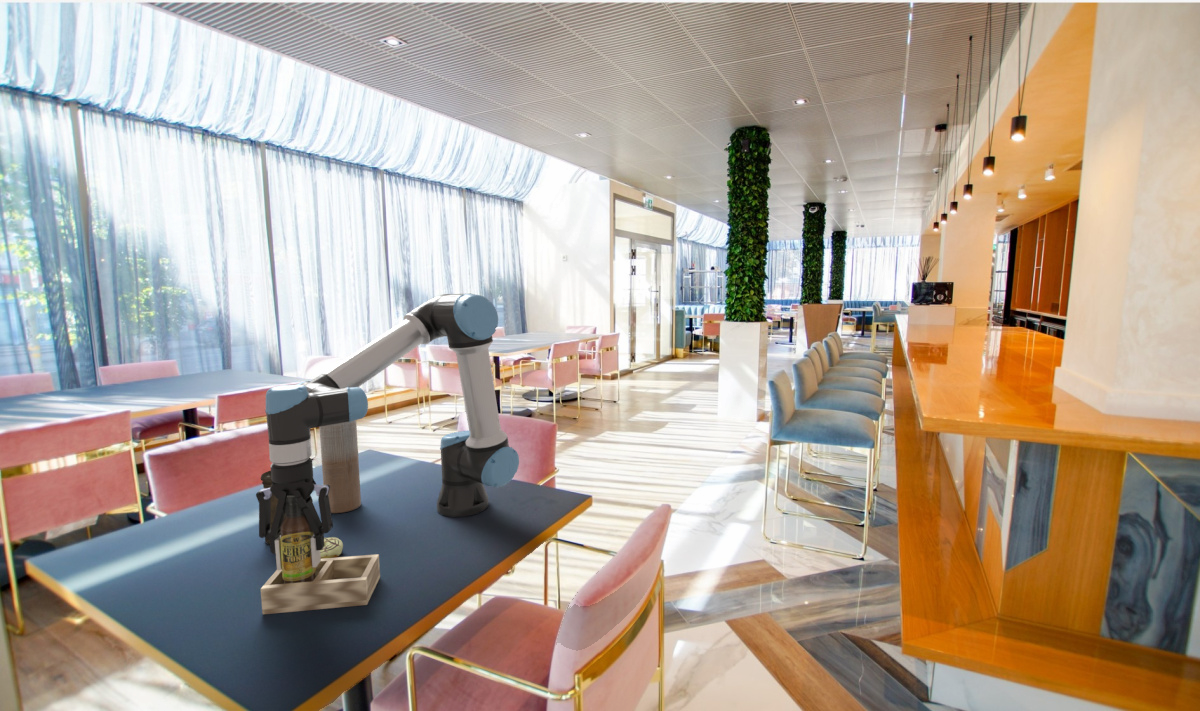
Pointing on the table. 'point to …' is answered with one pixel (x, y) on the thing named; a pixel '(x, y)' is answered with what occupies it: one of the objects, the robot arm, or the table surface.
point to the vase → (341, 465)
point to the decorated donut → (331, 548)
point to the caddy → (324, 586)
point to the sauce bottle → (296, 545)
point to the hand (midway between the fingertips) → (299, 565)
